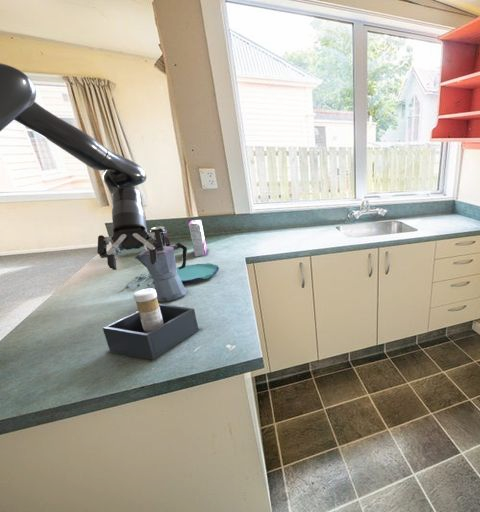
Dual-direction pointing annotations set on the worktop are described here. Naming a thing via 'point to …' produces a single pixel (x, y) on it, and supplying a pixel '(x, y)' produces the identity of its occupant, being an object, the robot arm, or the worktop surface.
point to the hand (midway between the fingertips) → (134, 265)
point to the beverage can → (162, 235)
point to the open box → (151, 332)
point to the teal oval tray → (187, 273)
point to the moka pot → (165, 272)
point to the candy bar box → (197, 237)
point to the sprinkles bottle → (148, 309)
